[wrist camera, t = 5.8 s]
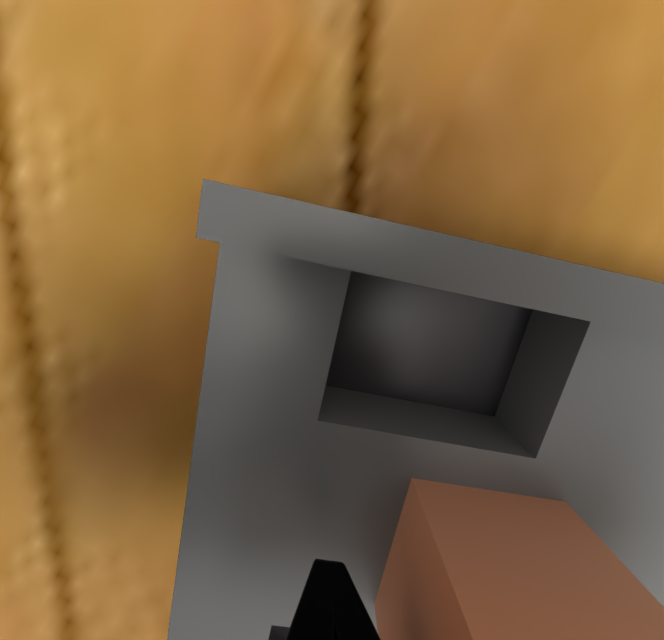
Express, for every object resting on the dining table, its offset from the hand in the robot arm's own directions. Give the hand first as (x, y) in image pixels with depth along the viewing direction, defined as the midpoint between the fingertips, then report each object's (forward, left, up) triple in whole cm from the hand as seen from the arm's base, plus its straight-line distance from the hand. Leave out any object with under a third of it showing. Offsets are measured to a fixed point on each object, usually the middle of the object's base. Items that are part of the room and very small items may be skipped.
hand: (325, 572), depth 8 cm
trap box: (+6, 0, -4) cm, 7 cm away
